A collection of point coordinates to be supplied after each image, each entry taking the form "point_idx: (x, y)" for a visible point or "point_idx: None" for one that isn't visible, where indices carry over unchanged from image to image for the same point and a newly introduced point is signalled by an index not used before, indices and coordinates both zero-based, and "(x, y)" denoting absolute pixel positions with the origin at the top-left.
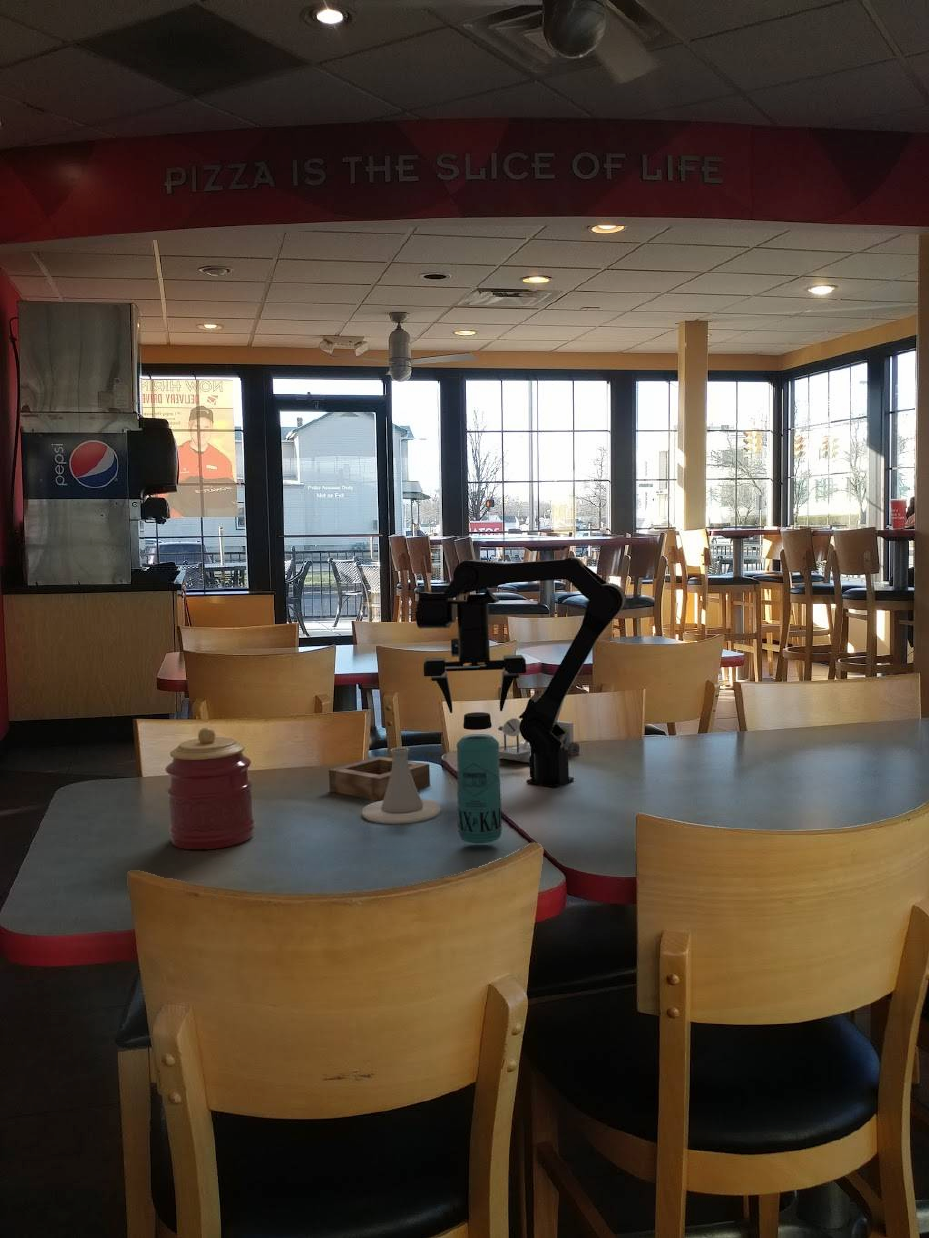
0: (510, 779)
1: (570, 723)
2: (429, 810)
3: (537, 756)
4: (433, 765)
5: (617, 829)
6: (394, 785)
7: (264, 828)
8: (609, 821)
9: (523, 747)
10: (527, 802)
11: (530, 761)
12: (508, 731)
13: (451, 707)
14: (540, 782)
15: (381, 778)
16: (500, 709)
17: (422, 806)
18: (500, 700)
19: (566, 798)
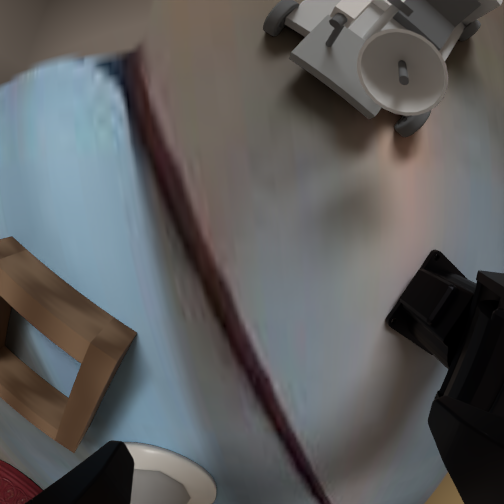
0: (348, 275)
1: (500, 4)
2: (202, 498)
3: (442, 363)
4: (103, 99)
5: (432, 488)
6: None
7: (36, 477)
8: (437, 473)
9: (378, 28)
10: (365, 440)
11: (422, 319)
12: (376, 57)
13: (128, 495)
14: (414, 338)
15: (75, 449)
16: (433, 430)
17: (187, 493)
18: (453, 480)
19: (430, 409)
